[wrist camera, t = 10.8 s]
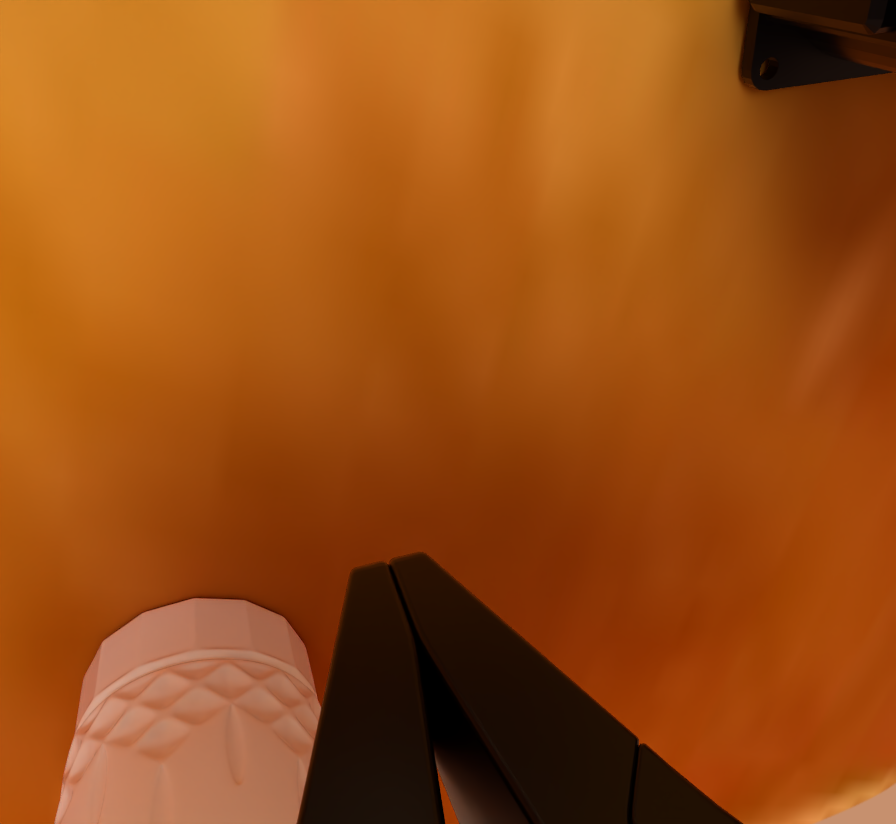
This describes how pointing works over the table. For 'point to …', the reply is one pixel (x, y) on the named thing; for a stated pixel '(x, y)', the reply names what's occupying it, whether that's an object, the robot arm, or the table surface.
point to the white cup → (193, 720)
